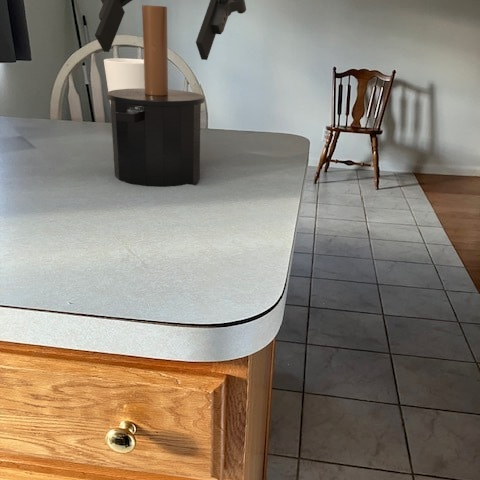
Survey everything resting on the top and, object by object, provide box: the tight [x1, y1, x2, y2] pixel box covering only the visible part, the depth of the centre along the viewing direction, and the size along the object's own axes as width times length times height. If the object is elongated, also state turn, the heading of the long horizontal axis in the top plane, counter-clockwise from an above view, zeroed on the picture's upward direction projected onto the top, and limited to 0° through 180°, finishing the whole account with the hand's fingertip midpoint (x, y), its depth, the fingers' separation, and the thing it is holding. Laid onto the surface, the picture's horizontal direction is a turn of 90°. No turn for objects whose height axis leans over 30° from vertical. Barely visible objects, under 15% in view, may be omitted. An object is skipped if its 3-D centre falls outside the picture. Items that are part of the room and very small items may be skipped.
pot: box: [109, 100, 202, 188], centre depth 73 cm, size 12×17×10 cm
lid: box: [106, 4, 206, 106], centre depth 69 cm, size 13×13×11 cm
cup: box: [103, 57, 145, 107], centre depth 101 cm, size 10×10×13 cm
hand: (150, 47), depth 67 cm, fingers open, 13 cm apart
